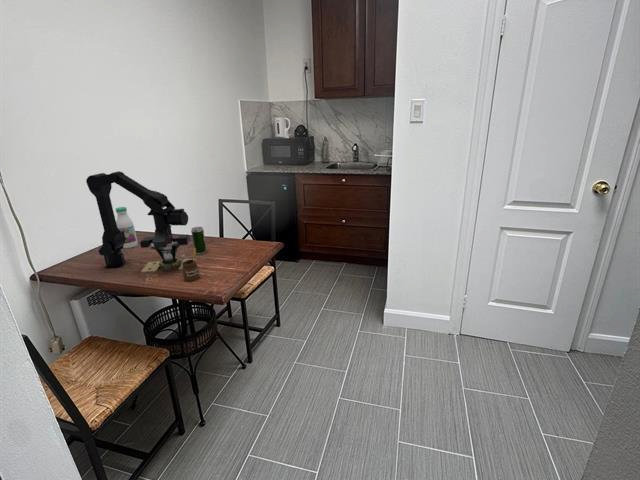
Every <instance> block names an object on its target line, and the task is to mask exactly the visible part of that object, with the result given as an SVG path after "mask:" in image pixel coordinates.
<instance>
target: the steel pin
mask: <svg viewBox="0 0 640 480" xmlns="http://www.w3.org/2000/svg"><path fill="white" fill-rule="evenodd" d="M161 251H162V252H163V257H164V262H165V264H171V263H174V262H175V260H174V258H173V251H172V247H171V246H167V247H165V248H163V249H162V250H161Z"/></svg>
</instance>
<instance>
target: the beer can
mask: <svg viewBox="0 0 640 480" xmlns="http://www.w3.org/2000/svg"><path fill="white" fill-rule="evenodd" d="M205 237H206V236H205V231H204V227H203V226H194V227H192V228H191V238H192V243H193V249H194V248H196V255H202V254H203V255H204V254H206V253H207V251H208V250H207V245H206V238H205Z"/></svg>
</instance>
